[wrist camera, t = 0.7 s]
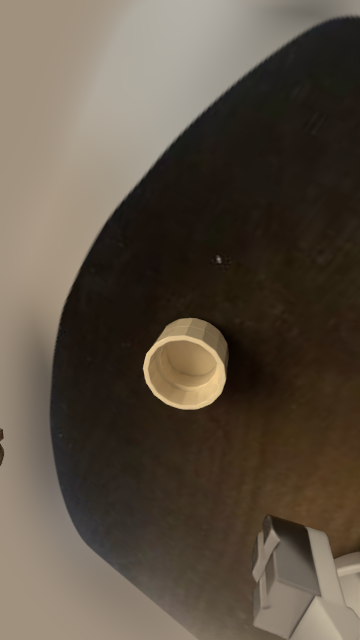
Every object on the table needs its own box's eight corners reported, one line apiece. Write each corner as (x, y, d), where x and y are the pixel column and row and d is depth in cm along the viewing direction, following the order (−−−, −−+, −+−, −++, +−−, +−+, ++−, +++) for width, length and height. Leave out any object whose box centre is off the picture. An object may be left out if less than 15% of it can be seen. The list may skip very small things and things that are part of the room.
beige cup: (185, 301, 26) (174, 319, 22) (243, 346, 26) (243, 372, 22) (146, 352, 28) (129, 376, 24) (199, 392, 29) (191, 423, 24)
